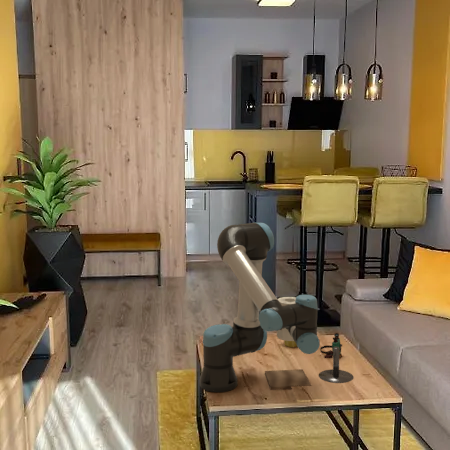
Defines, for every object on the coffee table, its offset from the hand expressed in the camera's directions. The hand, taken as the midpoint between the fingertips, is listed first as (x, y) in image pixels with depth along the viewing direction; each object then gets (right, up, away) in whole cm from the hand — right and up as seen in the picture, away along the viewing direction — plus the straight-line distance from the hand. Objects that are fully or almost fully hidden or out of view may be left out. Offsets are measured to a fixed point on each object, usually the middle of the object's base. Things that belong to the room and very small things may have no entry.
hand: (287, 312), depth 238 cm
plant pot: (+7, -22, +41) cm, 47 cm away
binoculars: (+22, -24, +24) cm, 40 cm away
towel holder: (+20, -27, +1) cm, 33 cm away
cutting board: (0, -27, 0) cm, 27 cm away
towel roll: (+1, -9, -3) cm, 10 cm away
